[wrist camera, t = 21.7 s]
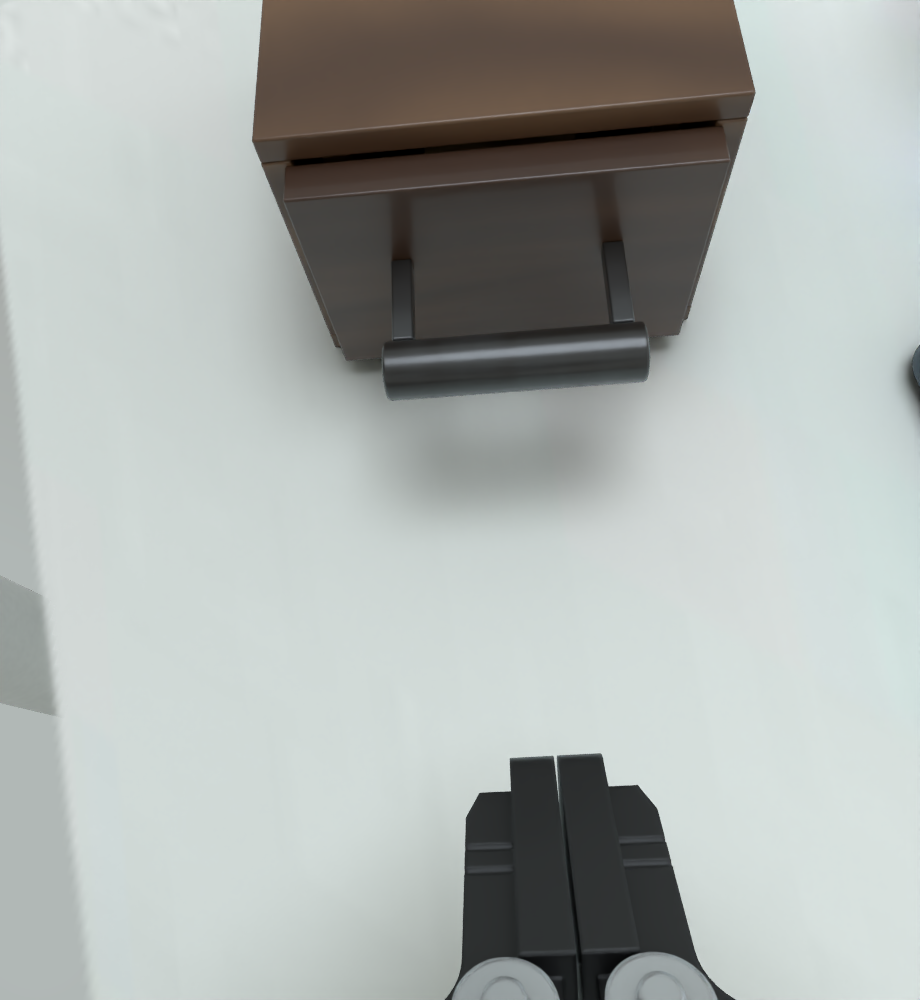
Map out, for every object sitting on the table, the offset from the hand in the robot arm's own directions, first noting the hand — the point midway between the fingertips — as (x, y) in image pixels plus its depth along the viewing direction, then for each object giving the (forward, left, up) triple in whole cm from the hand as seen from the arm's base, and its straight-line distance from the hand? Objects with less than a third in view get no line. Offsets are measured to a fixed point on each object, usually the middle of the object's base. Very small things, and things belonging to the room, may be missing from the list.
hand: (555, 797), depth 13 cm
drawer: (-3, +19, -10) cm, 22 cm away
